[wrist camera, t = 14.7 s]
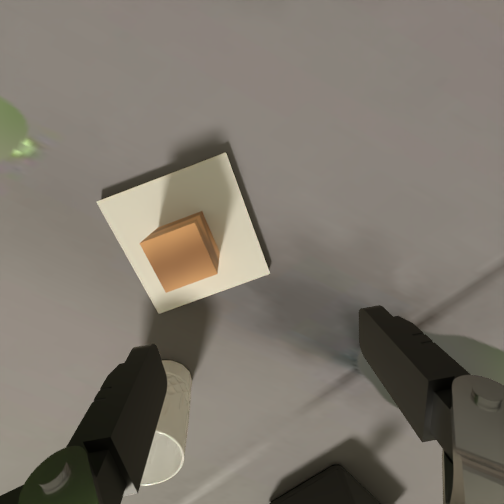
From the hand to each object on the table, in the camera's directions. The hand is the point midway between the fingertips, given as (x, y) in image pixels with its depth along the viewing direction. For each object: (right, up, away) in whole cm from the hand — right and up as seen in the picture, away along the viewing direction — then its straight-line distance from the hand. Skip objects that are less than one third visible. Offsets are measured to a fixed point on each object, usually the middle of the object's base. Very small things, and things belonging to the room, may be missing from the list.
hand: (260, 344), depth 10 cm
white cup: (-12, -14, +25) cm, 31 cm away
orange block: (-7, +5, +18) cm, 20 cm away
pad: (-7, +5, +19) cm, 21 cm away
